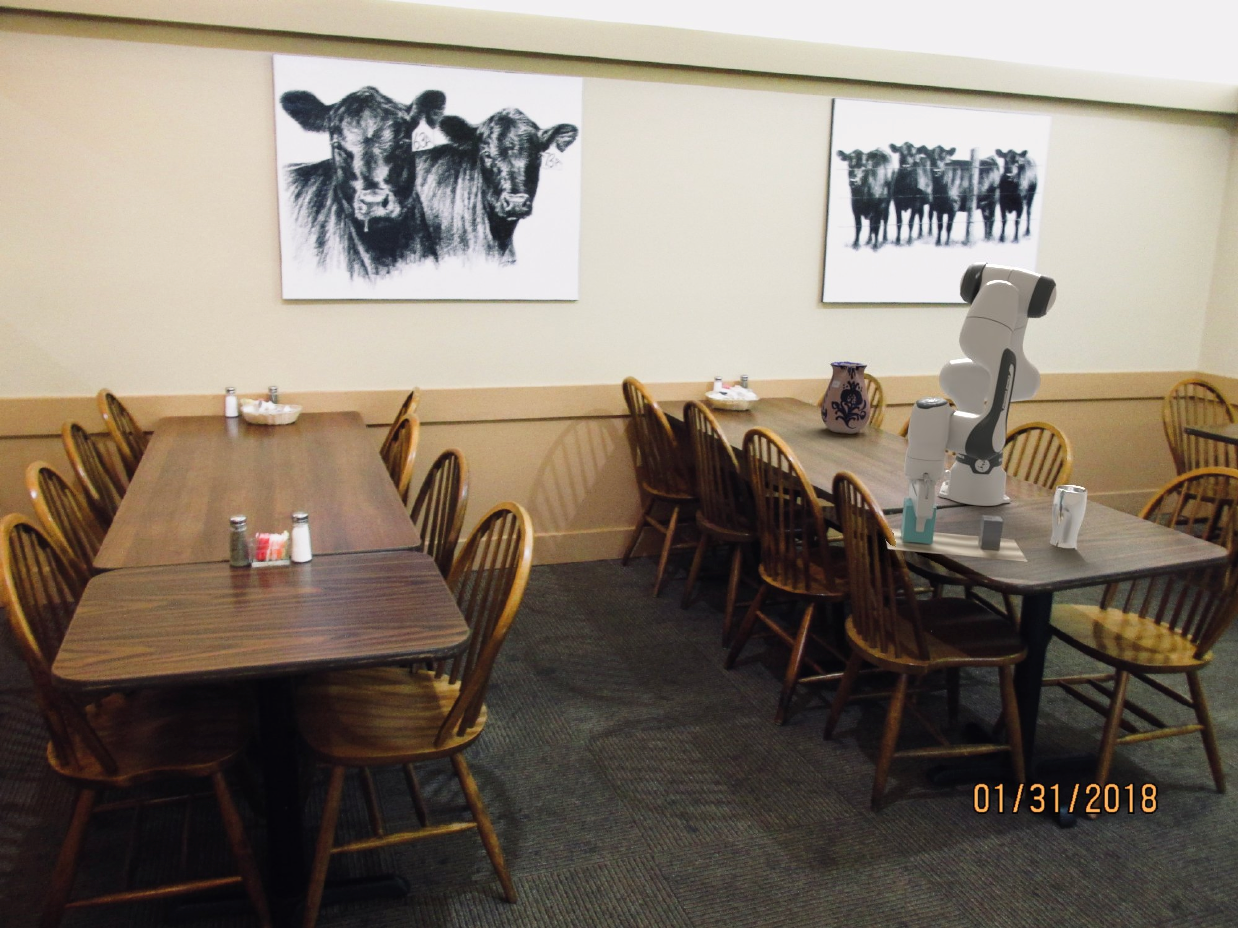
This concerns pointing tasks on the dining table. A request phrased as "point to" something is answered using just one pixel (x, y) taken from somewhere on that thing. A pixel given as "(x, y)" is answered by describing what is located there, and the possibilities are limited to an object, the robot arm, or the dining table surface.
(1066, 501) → the beer glass
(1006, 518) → the dining table surface
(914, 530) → the turquoise rectangular block
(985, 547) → the steel post
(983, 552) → the birch board
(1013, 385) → the robot arm
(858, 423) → the ceramic pitcher
